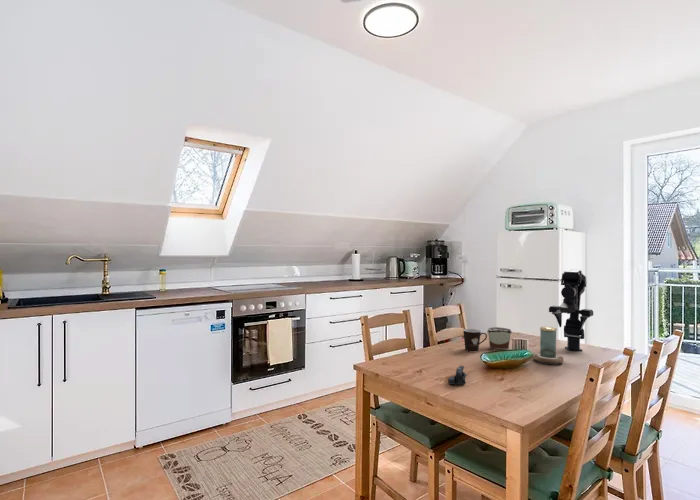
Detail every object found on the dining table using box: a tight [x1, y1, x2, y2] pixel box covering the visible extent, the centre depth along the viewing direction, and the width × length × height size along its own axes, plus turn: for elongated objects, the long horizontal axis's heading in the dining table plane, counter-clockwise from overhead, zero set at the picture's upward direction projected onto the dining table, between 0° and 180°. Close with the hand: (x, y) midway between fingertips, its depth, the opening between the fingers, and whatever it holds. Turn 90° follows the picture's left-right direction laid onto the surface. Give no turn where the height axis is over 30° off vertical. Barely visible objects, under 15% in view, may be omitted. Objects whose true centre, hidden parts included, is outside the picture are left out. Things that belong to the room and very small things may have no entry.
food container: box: [486, 326, 513, 350], centre depth 221 cm, size 12×6×10 cm, turn 84°
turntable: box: [532, 352, 565, 364], centre depth 194 cm, size 13×13×1 cm
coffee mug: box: [462, 328, 488, 352], centre depth 213 cm, size 12×9×10 cm
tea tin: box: [539, 326, 557, 358], centre depth 194 cm, size 7×7×13 cm
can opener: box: [447, 365, 468, 386], centre depth 167 cm, size 18×7×6 cm, turn 157°
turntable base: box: [535, 360, 561, 365], centre depth 194 cm, size 10×10×1 cm
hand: (570, 328), depth 206 cm, fingers open, 9 cm apart
